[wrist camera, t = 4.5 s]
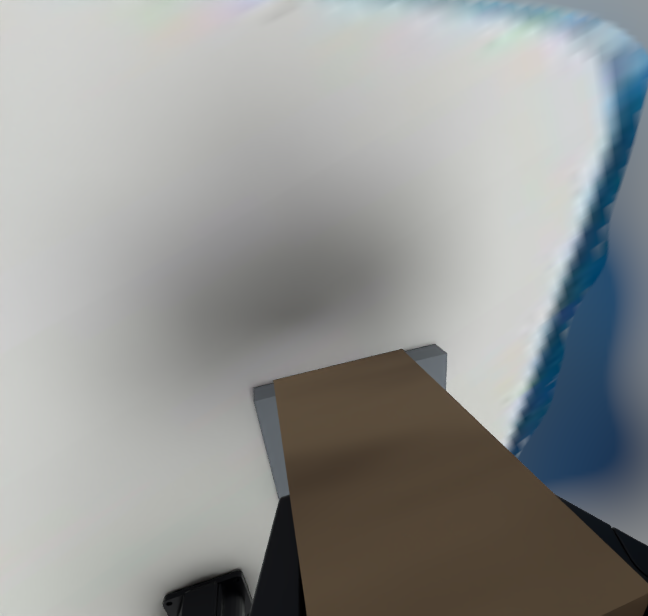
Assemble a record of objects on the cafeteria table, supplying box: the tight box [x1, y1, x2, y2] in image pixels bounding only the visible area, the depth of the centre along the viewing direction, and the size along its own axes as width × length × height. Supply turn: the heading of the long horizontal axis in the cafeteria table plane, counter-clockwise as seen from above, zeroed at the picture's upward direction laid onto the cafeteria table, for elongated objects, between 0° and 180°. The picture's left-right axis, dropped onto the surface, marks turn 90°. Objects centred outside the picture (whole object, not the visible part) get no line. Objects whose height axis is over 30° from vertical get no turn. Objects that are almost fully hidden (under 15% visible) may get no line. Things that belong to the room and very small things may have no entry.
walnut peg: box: [273, 349, 648, 616], centre depth 8 cm, size 4×4×7 cm
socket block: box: [254, 344, 447, 500], centre depth 23 cm, size 14×14×4 cm
